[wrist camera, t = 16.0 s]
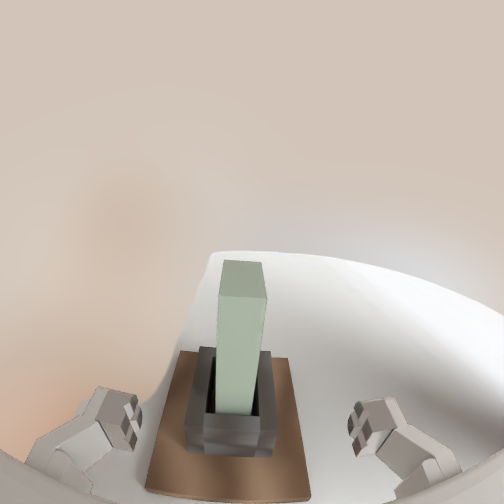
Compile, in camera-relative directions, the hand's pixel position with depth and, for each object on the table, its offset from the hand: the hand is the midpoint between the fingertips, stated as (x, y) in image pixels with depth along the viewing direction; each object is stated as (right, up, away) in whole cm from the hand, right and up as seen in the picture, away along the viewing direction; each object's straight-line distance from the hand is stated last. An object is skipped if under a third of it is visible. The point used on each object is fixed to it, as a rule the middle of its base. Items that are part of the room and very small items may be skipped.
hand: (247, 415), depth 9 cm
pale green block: (-2, -11, +17) cm, 20 cm away
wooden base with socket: (-2, -12, +17) cm, 21 cm away
